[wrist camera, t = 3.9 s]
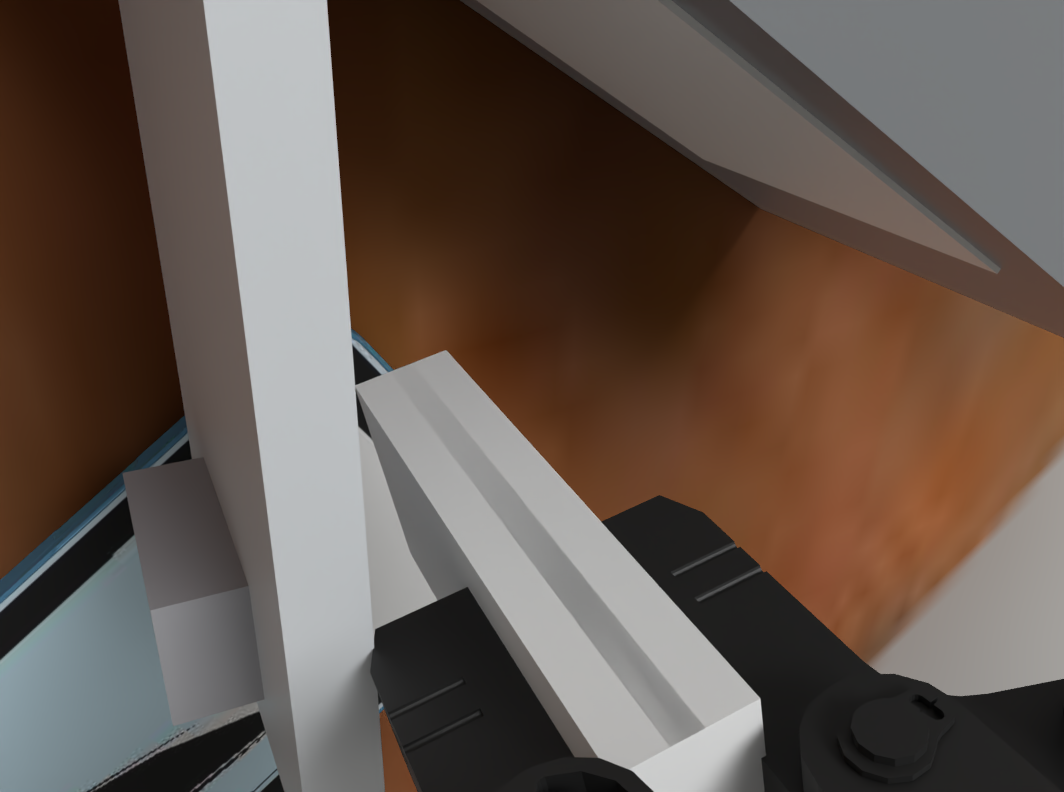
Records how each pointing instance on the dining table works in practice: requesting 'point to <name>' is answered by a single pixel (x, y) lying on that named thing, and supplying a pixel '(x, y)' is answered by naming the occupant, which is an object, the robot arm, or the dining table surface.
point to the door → (256, 386)
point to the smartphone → (145, 648)
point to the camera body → (851, 120)
